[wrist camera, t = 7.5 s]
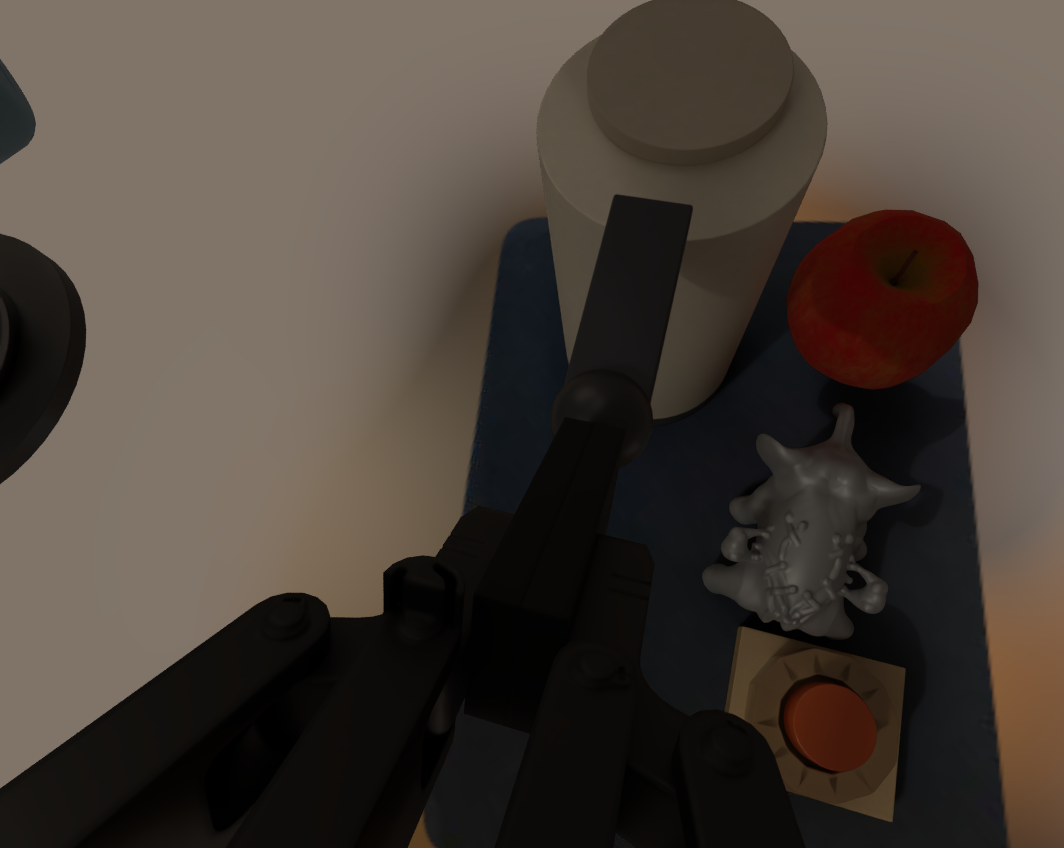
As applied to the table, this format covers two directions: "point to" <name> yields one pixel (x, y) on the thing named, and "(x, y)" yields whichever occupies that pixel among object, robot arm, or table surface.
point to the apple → (882, 298)
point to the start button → (830, 726)
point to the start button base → (785, 664)
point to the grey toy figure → (807, 535)
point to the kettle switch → (626, 320)
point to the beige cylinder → (683, 168)
